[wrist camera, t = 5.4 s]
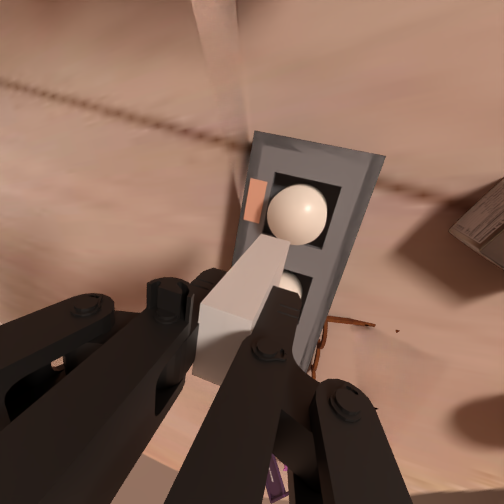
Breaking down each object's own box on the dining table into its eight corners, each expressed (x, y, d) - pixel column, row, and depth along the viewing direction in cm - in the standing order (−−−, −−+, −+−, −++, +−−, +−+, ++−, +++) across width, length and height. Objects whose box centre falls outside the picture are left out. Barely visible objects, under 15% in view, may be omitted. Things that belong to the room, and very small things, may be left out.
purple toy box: (252, 451, 43) (289, 427, 39) (274, 445, 46) (309, 423, 42) (267, 505, 38) (309, 484, 35) (290, 495, 41) (331, 475, 38)
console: (265, 133, 26) (253, 130, 22) (378, 155, 24) (386, 156, 20) (224, 354, 38) (212, 376, 34) (297, 382, 36) (293, 408, 32)
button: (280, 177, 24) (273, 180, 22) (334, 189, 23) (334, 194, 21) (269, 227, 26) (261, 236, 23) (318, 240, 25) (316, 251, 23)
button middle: (262, 262, 28) (253, 275, 25) (307, 276, 27) (304, 290, 24) (253, 300, 30) (245, 316, 27) (295, 314, 29) (291, 332, 26)
